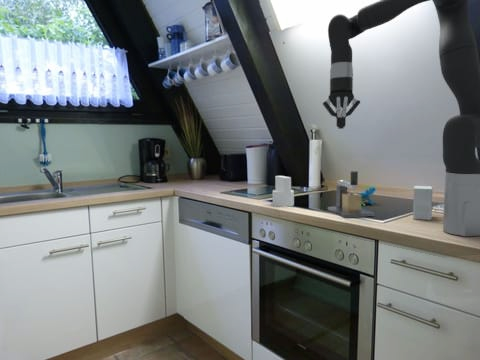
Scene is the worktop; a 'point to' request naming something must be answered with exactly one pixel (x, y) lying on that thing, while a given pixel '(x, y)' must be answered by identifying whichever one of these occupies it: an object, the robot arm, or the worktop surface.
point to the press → (343, 213)
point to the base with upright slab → (283, 192)
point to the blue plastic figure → (367, 195)
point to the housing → (351, 202)
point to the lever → (353, 181)
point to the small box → (422, 202)
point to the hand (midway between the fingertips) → (340, 128)
